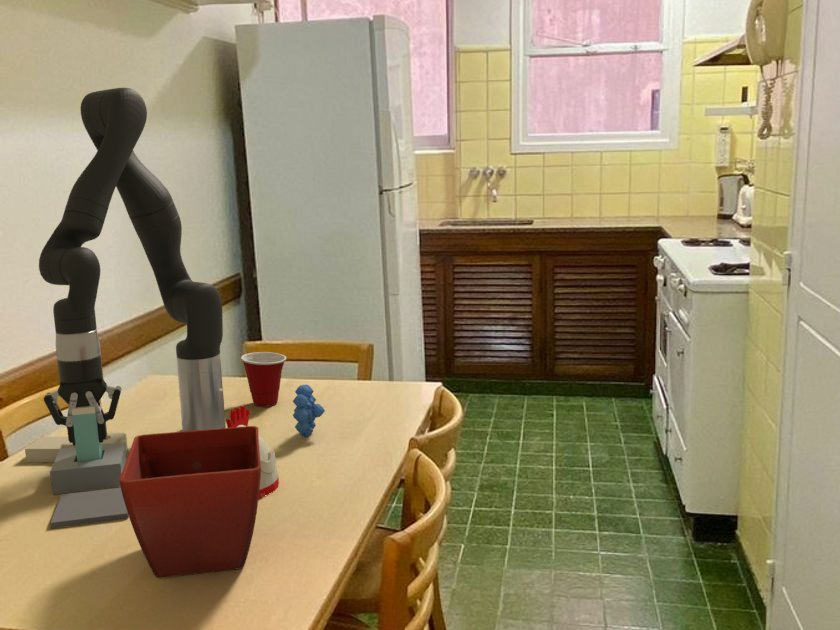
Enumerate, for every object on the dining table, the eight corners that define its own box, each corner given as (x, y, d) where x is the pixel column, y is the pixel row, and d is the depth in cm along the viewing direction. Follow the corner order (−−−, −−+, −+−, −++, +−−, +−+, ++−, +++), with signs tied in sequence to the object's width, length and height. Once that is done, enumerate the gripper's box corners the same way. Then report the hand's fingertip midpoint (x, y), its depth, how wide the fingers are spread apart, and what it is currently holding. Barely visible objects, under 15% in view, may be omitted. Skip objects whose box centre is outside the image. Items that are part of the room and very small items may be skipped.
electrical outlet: (41, 432, 173) (126, 432, 172) (44, 451, 174) (128, 450, 173) (24, 444, 166) (112, 444, 165) (26, 463, 167) (114, 463, 166)
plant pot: (268, 577, 119) (261, 467, 116) (128, 595, 115) (117, 481, 112) (264, 521, 137) (258, 424, 134) (144, 534, 133) (134, 435, 130)
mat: (132, 491, 151) (132, 486, 150) (127, 518, 139) (127, 513, 139) (62, 499, 148) (61, 494, 147) (51, 528, 136) (50, 522, 136)
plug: (103, 466, 159) (97, 400, 157) (101, 474, 156) (94, 406, 153) (81, 468, 158) (74, 402, 156) (79, 476, 155) (71, 409, 152)
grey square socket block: (127, 463, 164) (125, 442, 163) (122, 486, 153) (120, 463, 152) (62, 470, 161) (60, 448, 160) (52, 494, 150) (50, 471, 149)
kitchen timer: (292, 477, 156) (287, 401, 153) (254, 507, 143) (249, 424, 140) (227, 469, 160) (222, 395, 157) (186, 497, 147) (179, 417, 145)
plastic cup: (284, 409, 197) (282, 360, 194) (239, 410, 197) (236, 361, 195) (292, 396, 207) (289, 350, 205) (249, 397, 208) (246, 350, 205)
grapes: (321, 446, 171) (318, 391, 169) (288, 446, 172) (285, 391, 170) (331, 428, 183) (328, 375, 180) (300, 428, 183) (298, 375, 181)
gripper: (121, 346, 158) (129, 432, 161) (40, 353, 154) (51, 440, 158) (117, 355, 151) (126, 445, 154) (33, 362, 147) (44, 454, 150)
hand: (88, 442), depth 156 cm, fingers closed on plug, 4 cm apart
